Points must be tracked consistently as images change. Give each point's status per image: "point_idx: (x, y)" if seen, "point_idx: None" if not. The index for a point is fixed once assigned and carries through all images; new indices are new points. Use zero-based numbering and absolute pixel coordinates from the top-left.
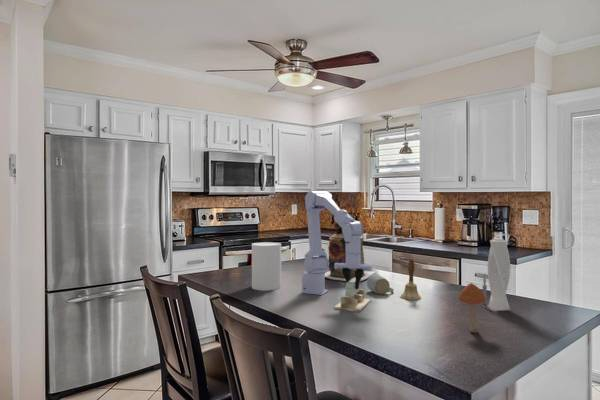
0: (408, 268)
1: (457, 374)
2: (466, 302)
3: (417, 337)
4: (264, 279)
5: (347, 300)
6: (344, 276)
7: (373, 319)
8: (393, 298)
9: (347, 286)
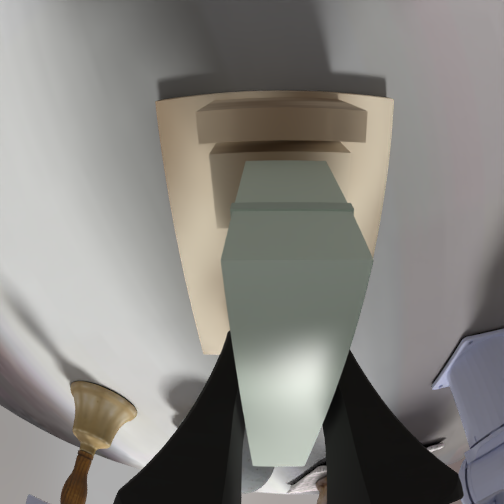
0: (79, 493)
1: None
2: None
3: None
4: None
5: (280, 105)
6: (410, 435)
7: (44, 9)
8: (140, 389)
9: (321, 220)
